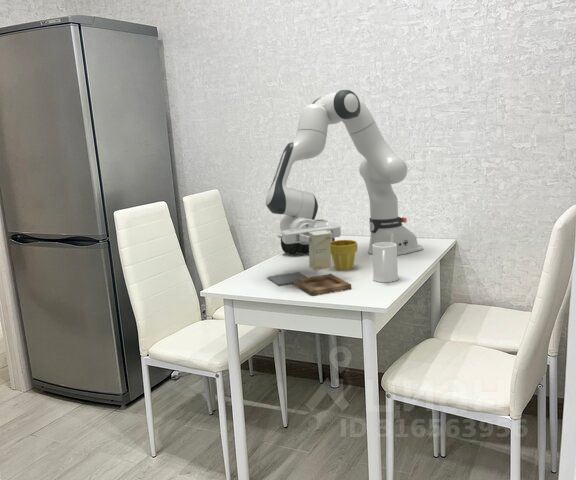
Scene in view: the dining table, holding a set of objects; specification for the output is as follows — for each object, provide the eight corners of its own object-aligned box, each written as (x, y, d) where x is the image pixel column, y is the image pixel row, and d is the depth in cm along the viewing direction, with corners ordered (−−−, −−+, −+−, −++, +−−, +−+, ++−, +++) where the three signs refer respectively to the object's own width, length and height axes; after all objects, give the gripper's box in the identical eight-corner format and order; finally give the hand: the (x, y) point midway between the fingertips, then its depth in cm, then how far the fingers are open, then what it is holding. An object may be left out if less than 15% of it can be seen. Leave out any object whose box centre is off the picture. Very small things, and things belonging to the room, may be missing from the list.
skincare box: (314, 271, 187) (313, 235, 183) (308, 266, 191) (307, 231, 187) (331, 268, 189) (331, 232, 186) (326, 264, 193) (325, 229, 190)
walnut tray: (330, 278, 201) (330, 273, 200) (351, 289, 186) (351, 284, 186) (293, 284, 196) (293, 279, 196) (311, 296, 181) (311, 291, 181)
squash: (271, 240, 247) (283, 216, 237) (298, 236, 255) (312, 213, 246) (286, 266, 240) (299, 242, 230) (314, 260, 249) (328, 237, 239)
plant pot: (355, 272, 207) (353, 245, 205) (327, 271, 210) (325, 245, 208) (360, 265, 216) (359, 239, 214) (334, 264, 220) (332, 239, 218)
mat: (298, 273, 210) (298, 271, 210) (311, 280, 199) (311, 279, 199) (267, 278, 206) (267, 276, 206) (278, 286, 195) (278, 284, 195)
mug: (395, 285, 186) (394, 249, 184) (369, 285, 189) (367, 249, 187) (400, 276, 197) (399, 241, 195) (375, 275, 200) (373, 241, 198)
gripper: (275, 226, 196) (289, 232, 183) (329, 218, 202) (347, 224, 190) (276, 244, 197) (290, 251, 184) (330, 236, 204) (348, 243, 191)
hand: (320, 237), depth 187 cm, fingers closed on skincare box, 6 cm apart
